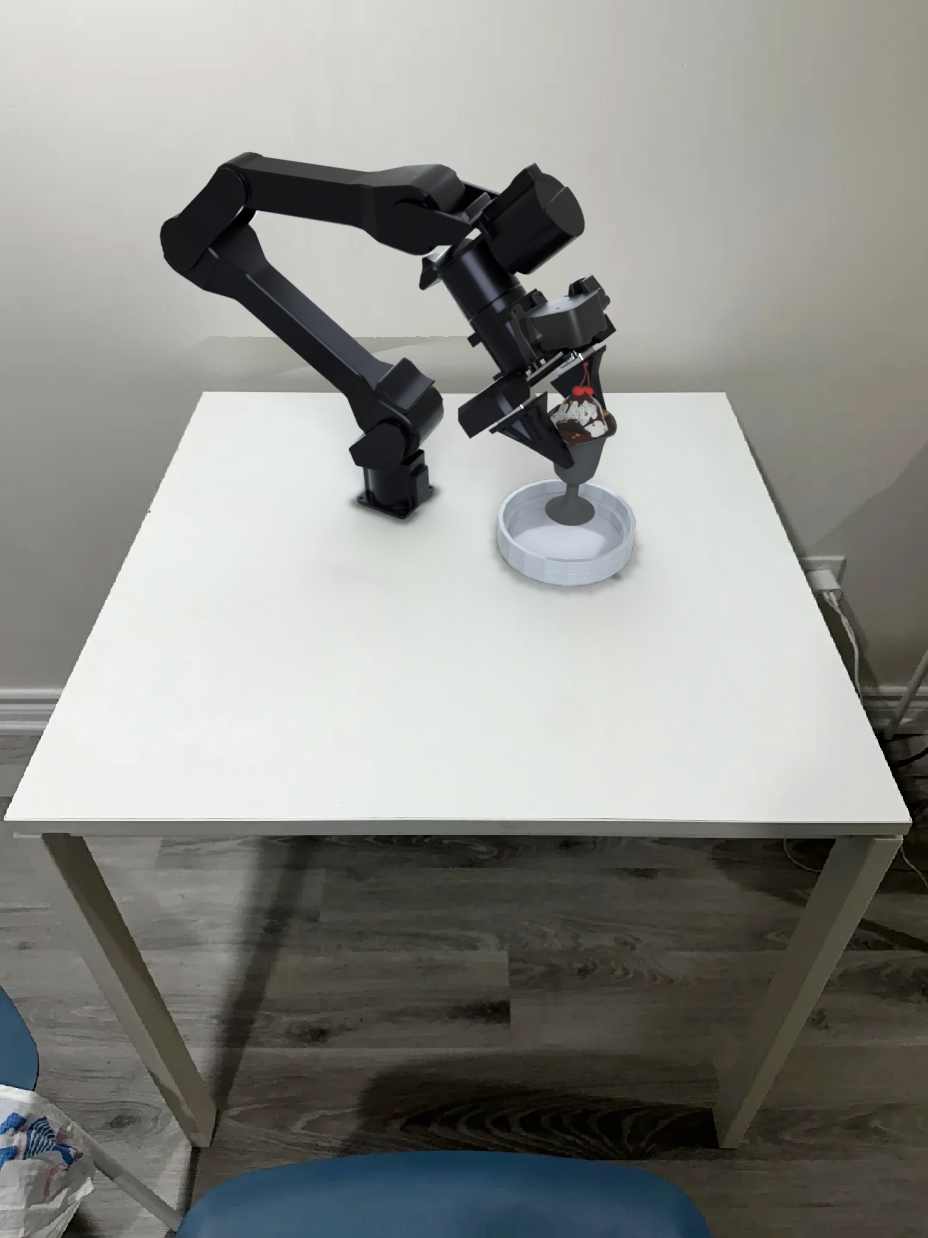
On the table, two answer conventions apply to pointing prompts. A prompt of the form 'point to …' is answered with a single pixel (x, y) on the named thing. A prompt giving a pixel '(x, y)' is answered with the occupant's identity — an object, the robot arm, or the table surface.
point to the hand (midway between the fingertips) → (589, 450)
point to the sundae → (579, 451)
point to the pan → (565, 535)
